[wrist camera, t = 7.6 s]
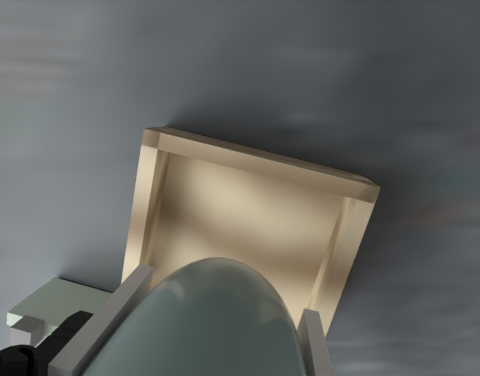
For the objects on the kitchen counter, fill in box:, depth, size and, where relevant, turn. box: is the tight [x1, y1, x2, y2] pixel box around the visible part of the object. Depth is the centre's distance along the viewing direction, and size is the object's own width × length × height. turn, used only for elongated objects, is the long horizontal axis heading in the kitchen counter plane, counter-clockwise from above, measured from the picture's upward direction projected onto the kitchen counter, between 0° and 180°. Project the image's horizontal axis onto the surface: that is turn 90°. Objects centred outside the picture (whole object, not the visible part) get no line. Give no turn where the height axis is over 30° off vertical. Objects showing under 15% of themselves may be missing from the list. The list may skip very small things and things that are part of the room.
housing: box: [121, 126, 381, 337], centre depth 20 cm, size 13×14×4 cm
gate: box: [7, 277, 113, 347], centre depth 22 cm, size 1×12×6 cm, turn 77°
